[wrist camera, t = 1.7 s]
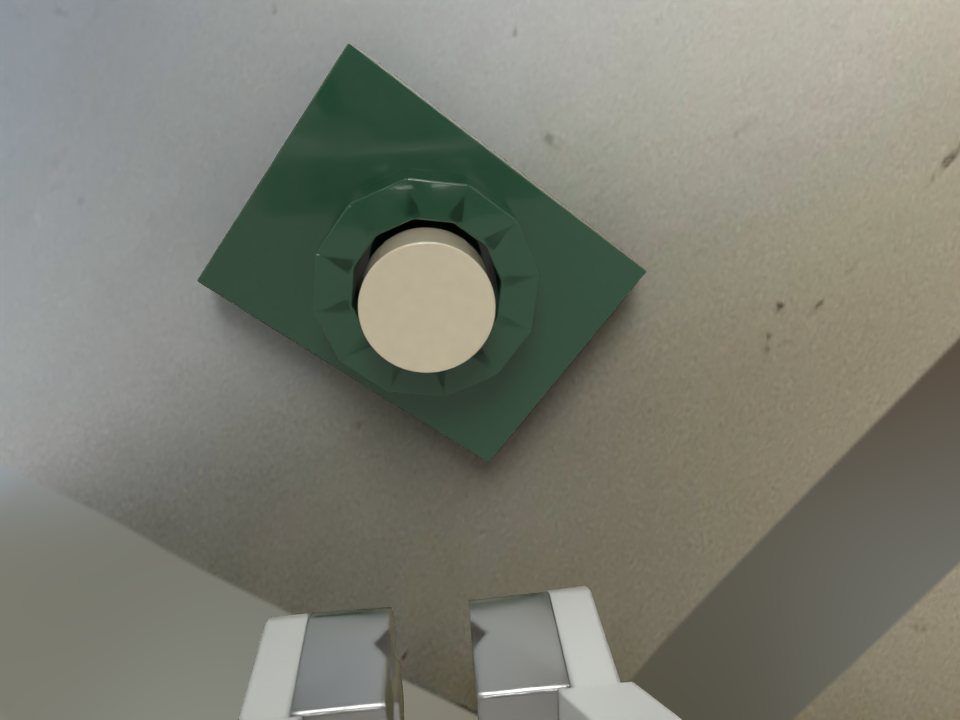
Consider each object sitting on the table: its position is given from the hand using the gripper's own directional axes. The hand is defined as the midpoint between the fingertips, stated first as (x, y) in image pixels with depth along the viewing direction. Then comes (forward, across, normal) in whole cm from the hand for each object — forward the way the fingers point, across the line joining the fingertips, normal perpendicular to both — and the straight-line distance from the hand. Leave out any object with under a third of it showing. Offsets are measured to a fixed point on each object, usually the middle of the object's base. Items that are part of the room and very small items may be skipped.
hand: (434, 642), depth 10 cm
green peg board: (+19, 0, 0) cm, 19 cm away
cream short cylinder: (+16, 0, 0) cm, 16 cm away
